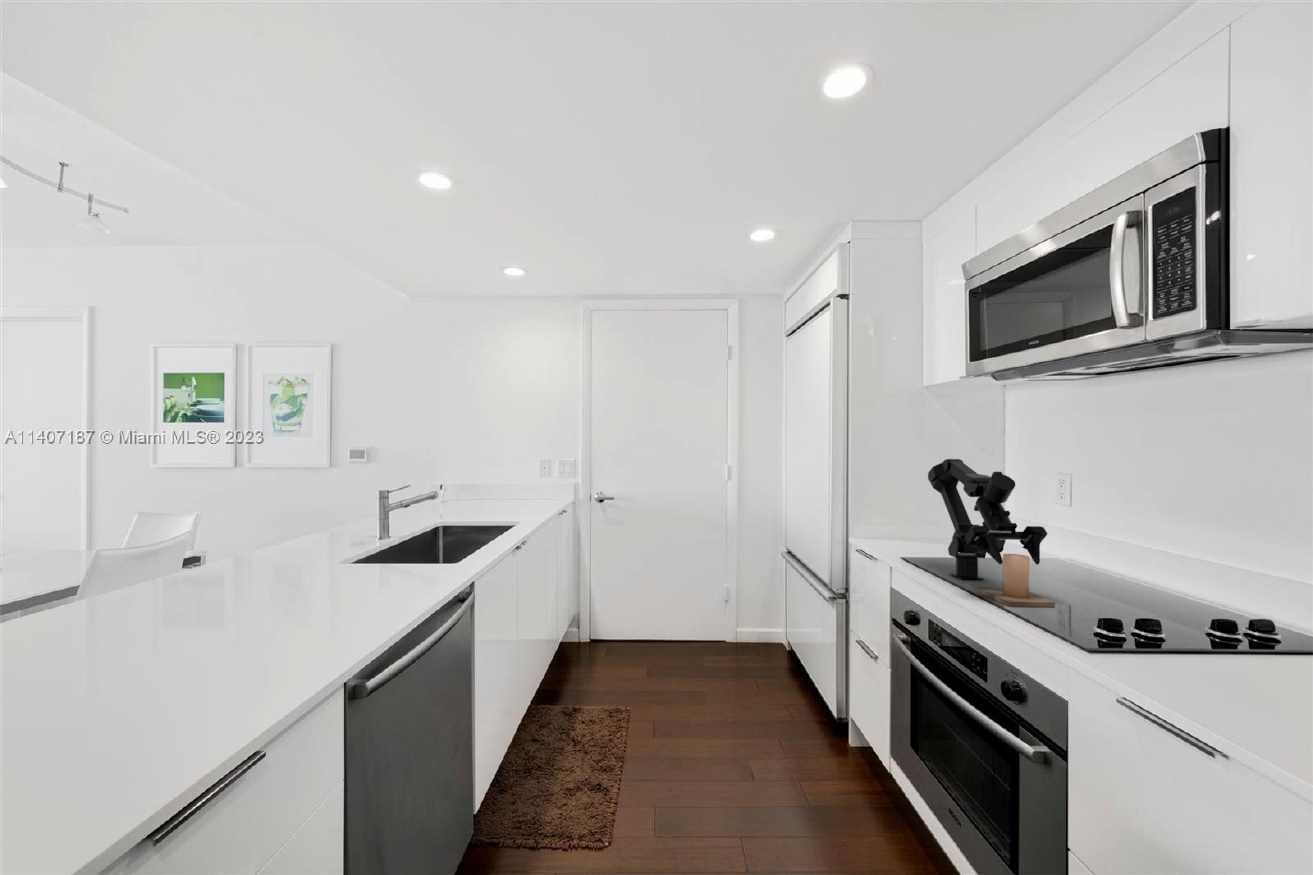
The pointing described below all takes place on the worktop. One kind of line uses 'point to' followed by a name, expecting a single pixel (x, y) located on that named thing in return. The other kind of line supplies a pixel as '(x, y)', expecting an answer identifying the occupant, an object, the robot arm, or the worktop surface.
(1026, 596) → the terracotta canister
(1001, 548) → the robot arm
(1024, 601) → the walnut board
